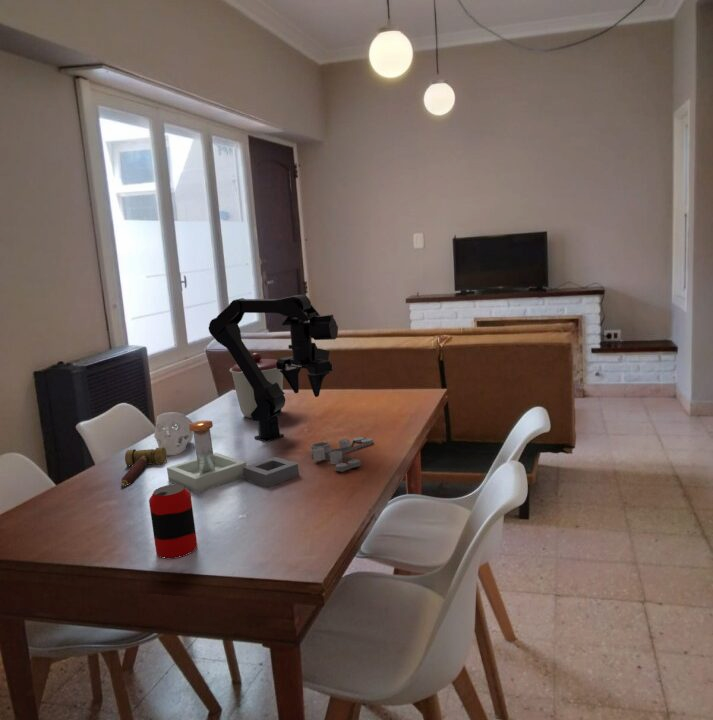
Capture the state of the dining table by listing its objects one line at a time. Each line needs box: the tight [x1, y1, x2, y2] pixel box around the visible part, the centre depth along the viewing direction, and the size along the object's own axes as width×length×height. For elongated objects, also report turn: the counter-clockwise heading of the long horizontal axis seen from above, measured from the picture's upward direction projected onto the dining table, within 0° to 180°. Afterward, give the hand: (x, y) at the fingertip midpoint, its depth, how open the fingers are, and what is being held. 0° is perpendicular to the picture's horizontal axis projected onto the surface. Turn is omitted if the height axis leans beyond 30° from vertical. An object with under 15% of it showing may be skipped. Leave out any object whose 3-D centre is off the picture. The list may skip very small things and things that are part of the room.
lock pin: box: [189, 420, 215, 475], centre depth 167 cm, size 6×6×13 cm
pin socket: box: [243, 456, 300, 488], centre depth 165 cm, size 10×10×3 cm
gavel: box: [120, 447, 168, 487], centre depth 176 cm, size 21×5×10 cm
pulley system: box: [309, 436, 374, 473], centre depth 177 cm, size 27×5×15 cm
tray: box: [166, 452, 247, 494], centre depth 168 cm, size 14×14×4 cm
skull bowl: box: [153, 411, 194, 457], centre depth 196 cm, size 10×14×12 cm
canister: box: [229, 352, 284, 419], centre depth 226 cm, size 18×18×21 cm
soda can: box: [148, 484, 198, 559], centre depth 128 cm, size 8×8×12 cm
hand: (306, 394), depth 192 cm, fingers open, 9 cm apart
